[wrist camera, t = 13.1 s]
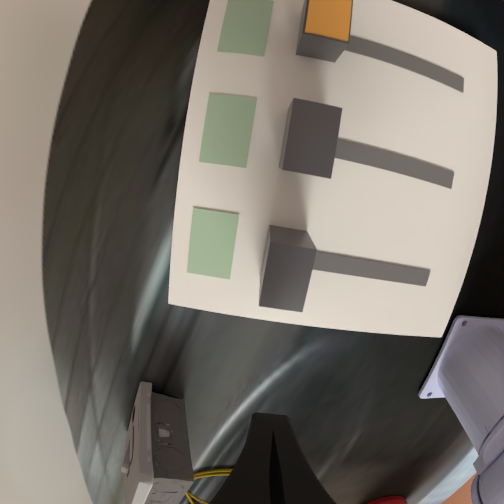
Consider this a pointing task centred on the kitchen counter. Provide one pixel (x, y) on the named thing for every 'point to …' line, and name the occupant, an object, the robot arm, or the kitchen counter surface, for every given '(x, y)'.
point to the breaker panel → (333, 169)
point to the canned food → (389, 500)
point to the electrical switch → (157, 450)
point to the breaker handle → (324, 29)
